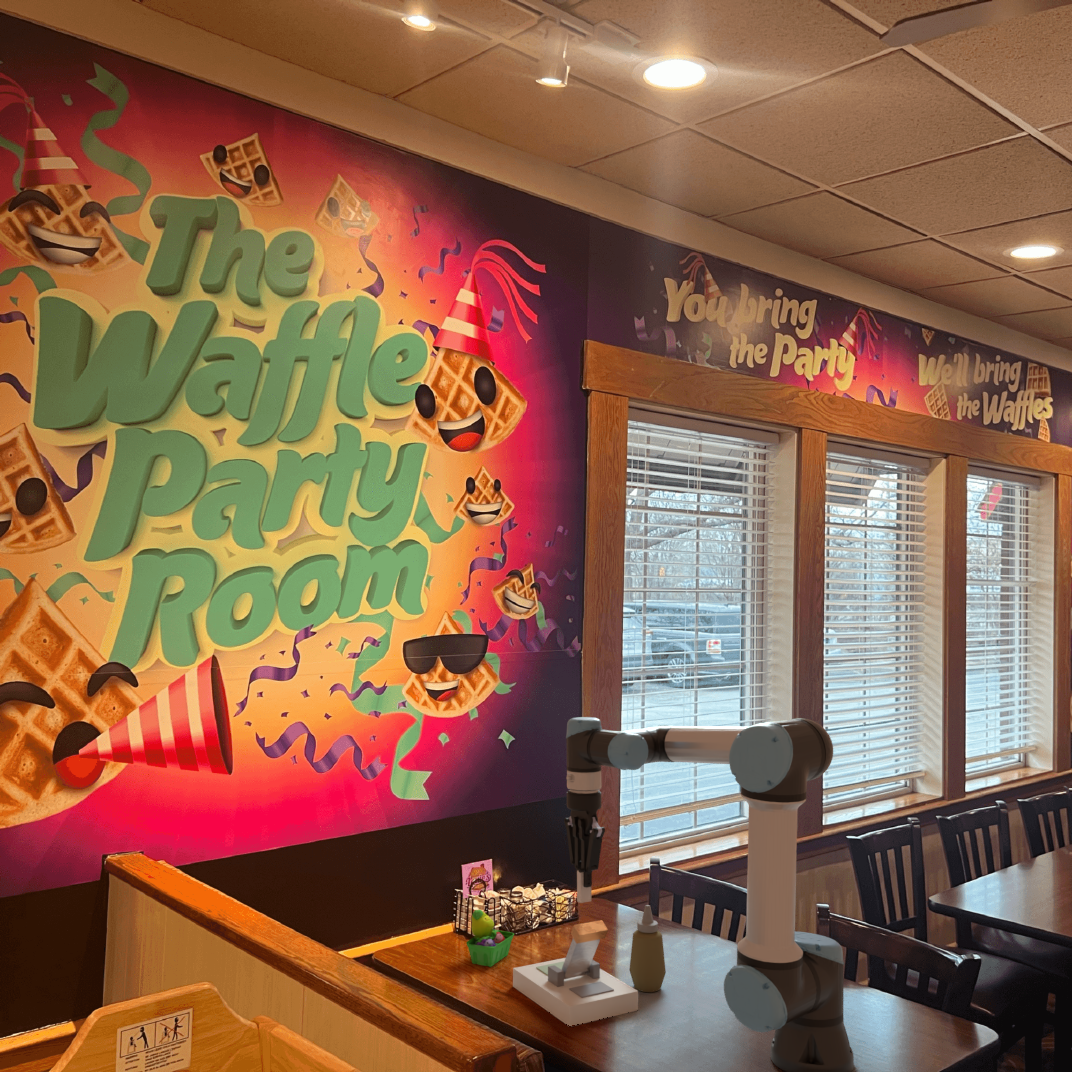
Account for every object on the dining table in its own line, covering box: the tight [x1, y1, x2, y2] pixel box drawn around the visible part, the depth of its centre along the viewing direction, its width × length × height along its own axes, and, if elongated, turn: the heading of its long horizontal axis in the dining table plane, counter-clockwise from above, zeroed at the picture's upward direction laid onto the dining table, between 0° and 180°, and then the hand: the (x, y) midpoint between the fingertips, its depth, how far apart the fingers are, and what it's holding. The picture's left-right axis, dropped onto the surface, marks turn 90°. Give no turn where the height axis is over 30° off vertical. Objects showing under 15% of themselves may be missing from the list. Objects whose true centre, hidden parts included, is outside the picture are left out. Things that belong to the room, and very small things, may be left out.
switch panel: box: [512, 957, 639, 1027], centre depth 221 cm, size 24×17×7 cm
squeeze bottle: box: [629, 904, 666, 993], centre depth 228 cm, size 8×8×18 cm
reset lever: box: [561, 919, 609, 979], centre depth 219 cm, size 3×7×14 cm, turn 120°
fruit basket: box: [465, 909, 515, 968], centre depth 245 cm, size 11×9×11 cm
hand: (584, 901), depth 219 cm, fingers closed
